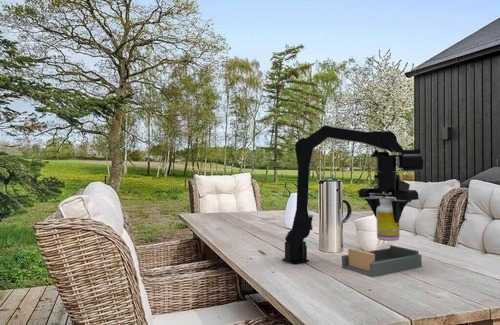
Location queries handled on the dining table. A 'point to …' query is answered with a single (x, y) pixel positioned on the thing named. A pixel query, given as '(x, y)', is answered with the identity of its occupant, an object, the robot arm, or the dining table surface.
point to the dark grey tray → (388, 261)
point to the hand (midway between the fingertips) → (387, 221)
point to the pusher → (360, 259)
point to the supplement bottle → (386, 221)
